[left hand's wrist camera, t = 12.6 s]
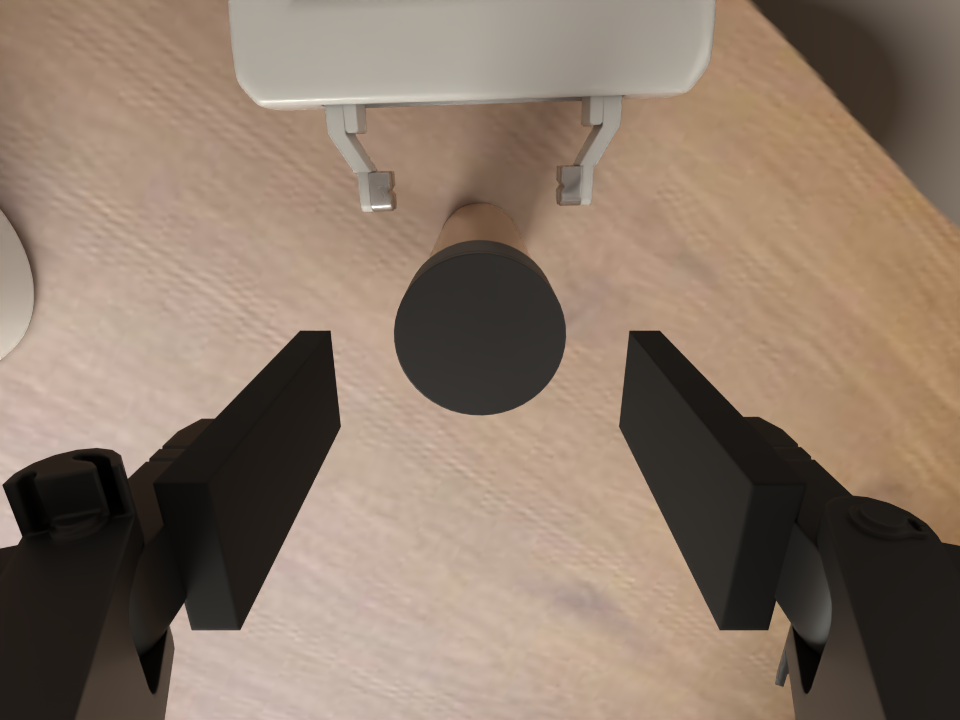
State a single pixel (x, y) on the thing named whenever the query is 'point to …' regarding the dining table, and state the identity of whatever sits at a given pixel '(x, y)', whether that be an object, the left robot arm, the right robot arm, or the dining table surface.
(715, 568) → the left robot arm
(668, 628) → the dining table surface
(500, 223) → the jar
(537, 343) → the lid
